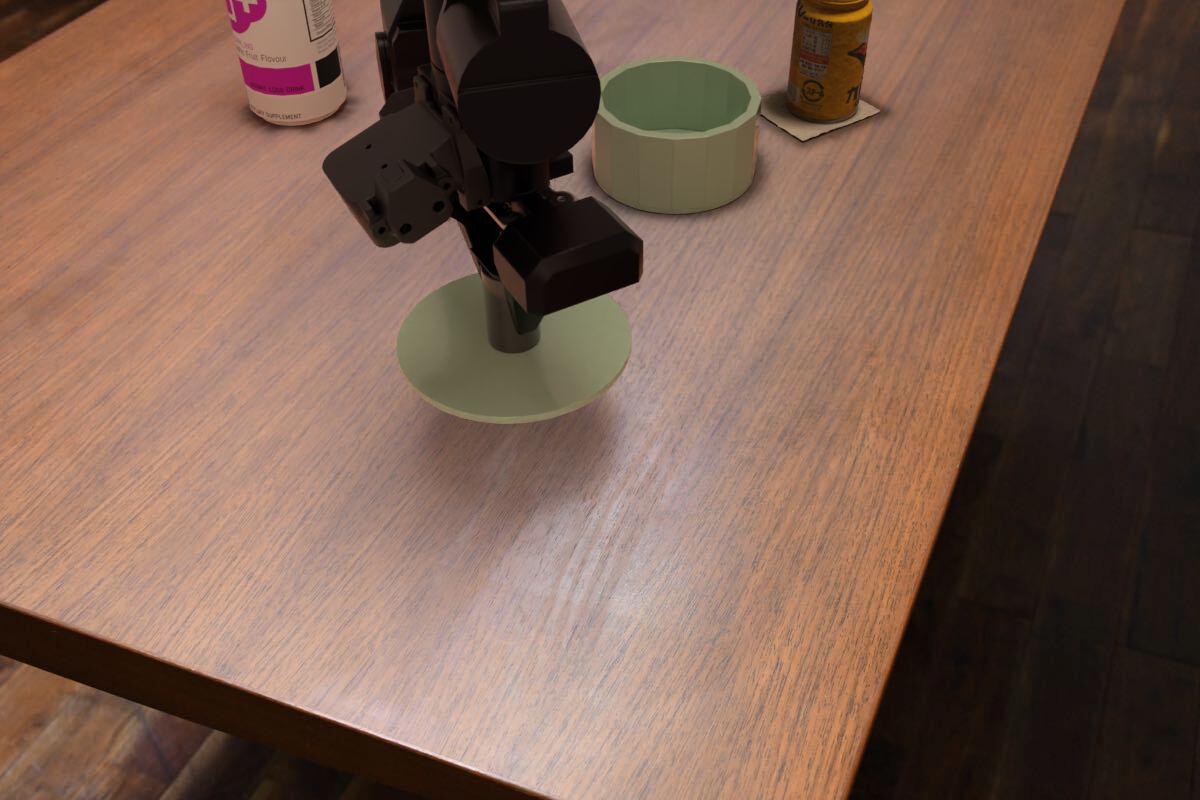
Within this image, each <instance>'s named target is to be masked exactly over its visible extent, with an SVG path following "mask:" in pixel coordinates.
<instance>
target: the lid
mask: <svg viewBox="0 0 1200 800" xmlns="http://www.w3.org/2000/svg"><path fill="white" fill-rule="evenodd" d="M481 278H482V280H481ZM481 278H480V275H479V273H478V272H475V273H472V274H469V275H465V276H463V277H460V278H458V279H455V280H453V281H450V282H448V283H446V284H444V285H442V286H440V287H438V288H437V289H435V290H434V291H432V292H430V293H429V294H428V295H426V297H425V296H424V298H422V299H421V300H420V301H419V302H418V303H417V304H416V305H415V306H414V307H413V308H412V309H411V310H410V311H409V313H408V315H407V316H406V317H405V319H404V320H403V322H402V324H401V326H400V328H399V331H398V335H397V339H396V347H395V350H396V358H397V359H396V360H397V364H398V367H399V370H400V373H401V375H402V377H403V379H404V381H405V383H406V384H407V385H408V386H409V387H410V388H411V390H412V391H413V392H414V393H415V394H416V395H417V396H418V397H420V398H421V399H422V400H423V401H425V402H426V403H428V404H429V405H431V406H432V407H434V408H436V409H438V410H440V411H441V412H444V413H446V414H448V415H451V416H455V417H457V418H460V419H465V420H469V421H473V422H478V423H485V424H497V425H499V424H500V425H501V424H502V425H511V424H512V425H514V424H515V425H516V424H526V423H534V422H541V421H545V420H549V419H553V418H557V417H560V416H563V415H565V414H569V413H572V412H574V411H577V410H578V409H580V408H583V407H585V406H586V405H588V404H590V403H591V402H593V401H595V400H597V399H598V398H599V397H601V396H602V395H603V394H605V393H606V392H607V391H608V390H609V389H611V387H612V386H614V384H616V382H617V381H618V379H619V378H620V377H621V375H622V374H623V372H624V371H625V369H626V367H627V365H628V363H629V360H630V357H631V353H632V343H633V335H632V327H631V325H630V321H629V319H628V316H627V314H626V313H625V311H624V309H623V308H622V307H621V305H620V304H619V303H618V302H617V300H616V299H615V298H614V297H612V295H611V294H610V293H608V294H605V295H602V296H599V297H596V298H594V299H591V300H588V301H585V302H582V303H580V304H577V305H574V306H571V307H568V308H566V309H563V310H560V311H557V312H554V313H552V314H549V315H546V316H544V317H543V319H542V321H541V322H540V324H539V326H538V328H537V329H536V330H535V331H533V332H530V333H527V334H525V335H519V334H518V333H517V332H516V330H515V327H514V324H513V320H512V317H511V314H510V311H509V307H508V303H507V299H506V295H505V291H504V288H503V284H502V281H501V280H498V279H496V278H494V277H493V276H492V275H491V274H490V273H489V272H488V271H487V270H486V268H485V267H484V266H483V265H482V264H481Z"/></svg>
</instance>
